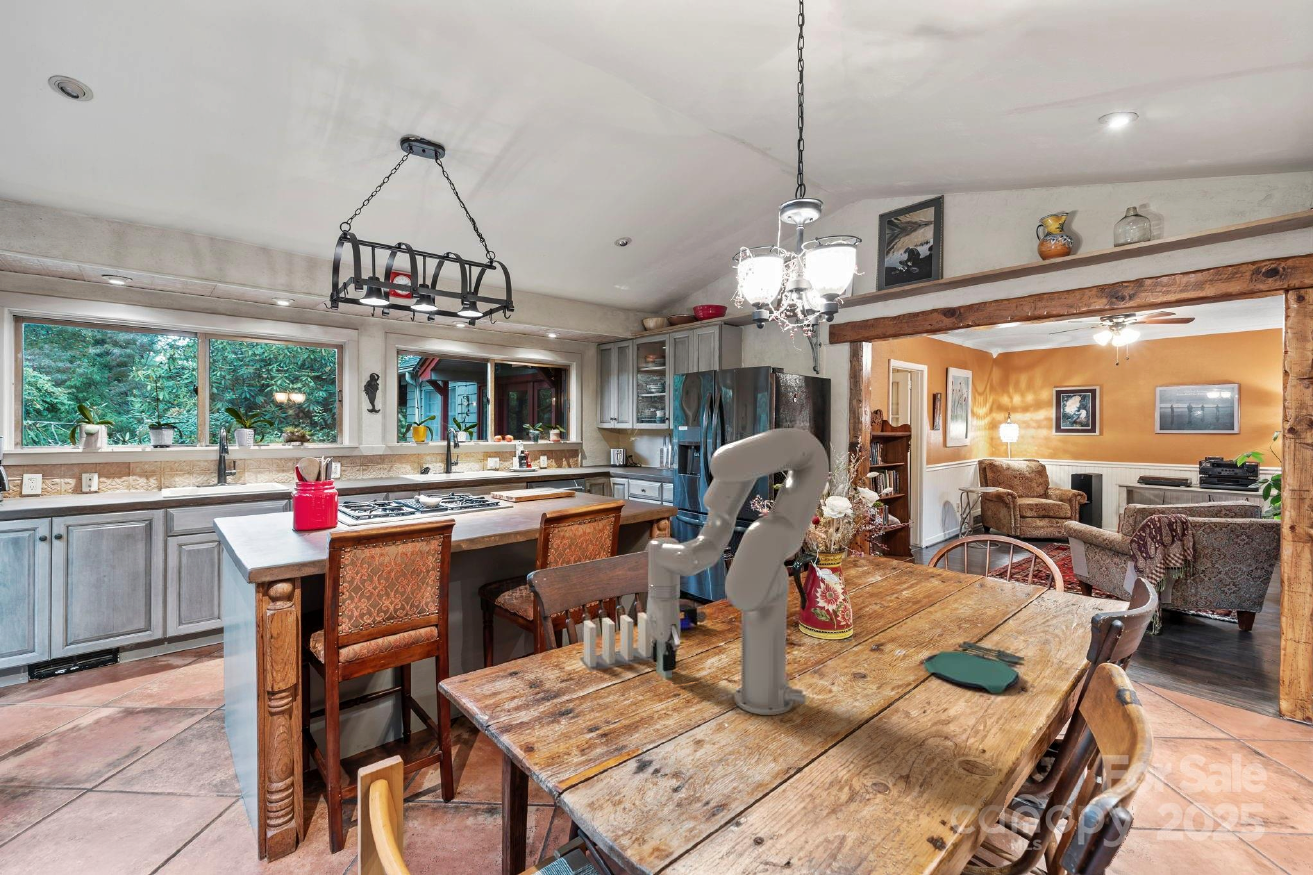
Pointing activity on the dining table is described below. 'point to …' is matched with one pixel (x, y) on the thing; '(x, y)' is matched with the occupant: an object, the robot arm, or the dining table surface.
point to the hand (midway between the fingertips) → (664, 664)
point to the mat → (618, 660)
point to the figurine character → (690, 616)
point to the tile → (660, 660)
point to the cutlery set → (975, 668)
